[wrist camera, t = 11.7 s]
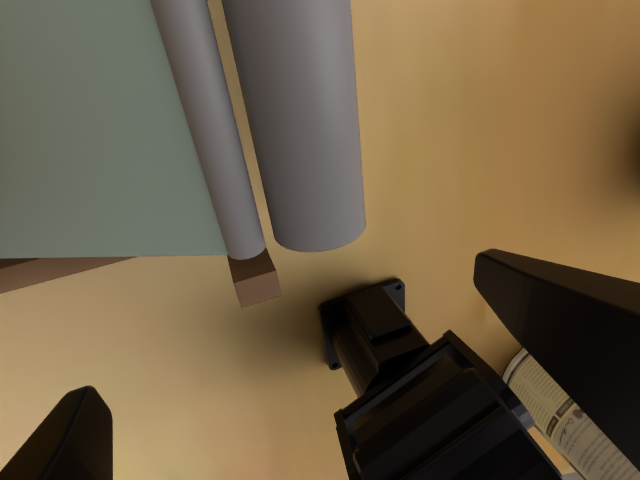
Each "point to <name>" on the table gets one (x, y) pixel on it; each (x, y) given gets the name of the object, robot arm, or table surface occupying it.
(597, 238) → the table surface
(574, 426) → the coffee can
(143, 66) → the trapdoor
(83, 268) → the trapdoor frame
